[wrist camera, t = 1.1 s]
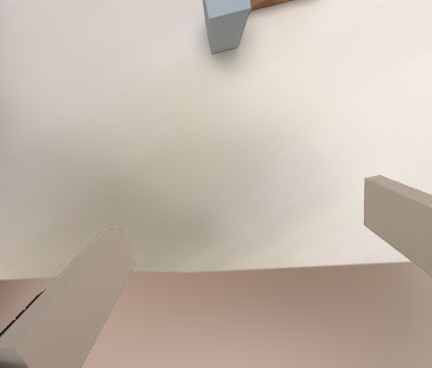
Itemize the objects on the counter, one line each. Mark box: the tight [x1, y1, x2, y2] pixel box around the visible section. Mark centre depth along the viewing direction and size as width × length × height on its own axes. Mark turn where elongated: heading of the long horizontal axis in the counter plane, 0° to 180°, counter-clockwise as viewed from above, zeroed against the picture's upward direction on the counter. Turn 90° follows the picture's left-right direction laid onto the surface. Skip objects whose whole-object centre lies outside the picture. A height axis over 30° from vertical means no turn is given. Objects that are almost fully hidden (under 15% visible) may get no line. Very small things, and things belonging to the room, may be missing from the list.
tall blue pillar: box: [203, 0, 251, 54], centre depth 26 cm, size 4×4×13 cm
